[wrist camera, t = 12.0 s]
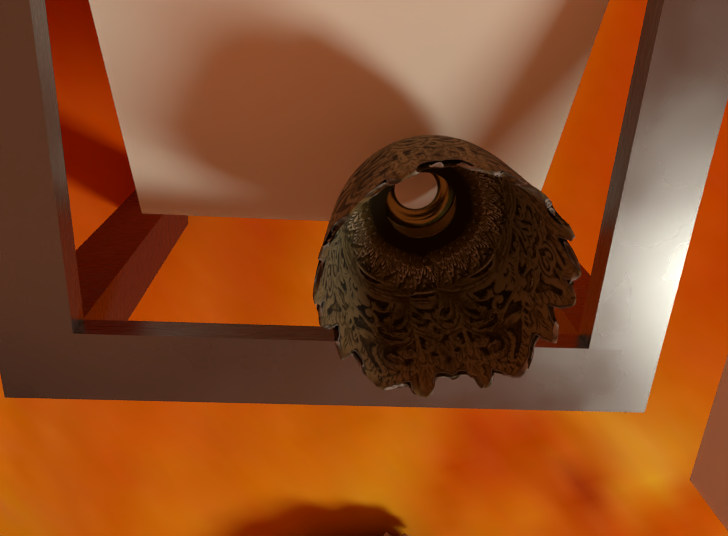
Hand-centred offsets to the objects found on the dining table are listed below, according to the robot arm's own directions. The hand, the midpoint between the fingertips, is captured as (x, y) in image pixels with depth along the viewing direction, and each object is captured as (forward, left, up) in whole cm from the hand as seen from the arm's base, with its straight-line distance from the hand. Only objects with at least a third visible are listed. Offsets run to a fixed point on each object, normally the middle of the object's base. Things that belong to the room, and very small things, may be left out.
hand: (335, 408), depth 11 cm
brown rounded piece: (+3, 0, -15) cm, 16 cm away
